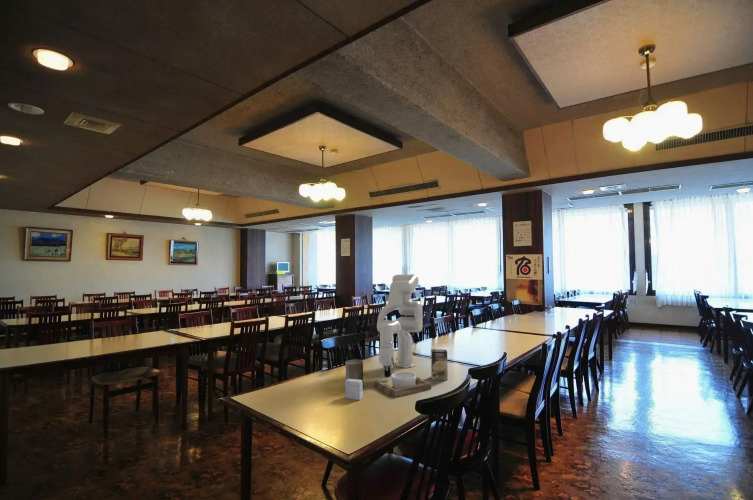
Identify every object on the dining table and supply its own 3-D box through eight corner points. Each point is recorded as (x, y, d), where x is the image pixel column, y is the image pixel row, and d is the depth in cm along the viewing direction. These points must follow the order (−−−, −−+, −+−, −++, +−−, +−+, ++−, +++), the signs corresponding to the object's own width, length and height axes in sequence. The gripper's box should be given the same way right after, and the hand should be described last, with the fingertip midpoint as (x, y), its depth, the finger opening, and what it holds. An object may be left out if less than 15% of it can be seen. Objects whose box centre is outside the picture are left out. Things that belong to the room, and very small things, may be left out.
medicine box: (363, 397, 178) (362, 379, 178) (359, 400, 174) (359, 382, 174) (348, 395, 180) (348, 378, 181) (344, 399, 176) (344, 381, 177)
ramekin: (408, 394, 182) (408, 380, 182) (386, 389, 189) (386, 376, 189) (420, 387, 192) (420, 373, 193) (399, 382, 200) (399, 370, 200)
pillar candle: (367, 386, 194) (366, 358, 195) (354, 391, 187) (353, 362, 188) (355, 383, 201) (354, 356, 202) (341, 387, 194) (341, 359, 195)
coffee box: (431, 380, 204) (431, 351, 205) (431, 376, 210) (430, 349, 211) (448, 380, 203) (447, 351, 204) (447, 376, 209) (446, 349, 210)
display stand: (374, 386, 195) (374, 380, 195) (408, 379, 206) (408, 373, 207) (395, 397, 177) (395, 391, 177) (431, 388, 189) (431, 383, 189)
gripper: (374, 343, 210) (375, 374, 210) (388, 348, 198) (389, 381, 197) (385, 341, 214) (386, 372, 214) (399, 346, 202) (400, 379, 201)
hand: (387, 376), depth 205 cm, fingers closed
